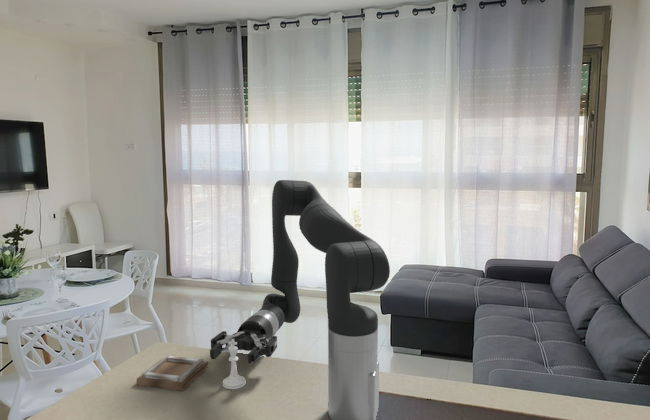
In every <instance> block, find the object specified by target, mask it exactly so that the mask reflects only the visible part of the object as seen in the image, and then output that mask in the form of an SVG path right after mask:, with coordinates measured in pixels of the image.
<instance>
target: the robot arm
mask: <svg viewBox="0 0 650 420" xmlns="http://www.w3.org/2000/svg"><path fill="white" fill-rule="evenodd" d="M271 195H272V196H271V215H272V217H271V218H272V219H271V220H272V225H271V226H272V245H273V246H272V248H273V249H272V250H273V251H272V252H273V254H272V266H271V267H272V268H271V278H270V283H271V286H272V288H274V289H275V290H277V291H278V292H280V293H282V294H280V293H268V294H267V295H265V297H264V299H263V302H262V305H261V308H260V309H259V310H258V311H257V312H255V313H253V314H252V315H250V316H249V317H248V318H247V319H246V320H245V321H244V322H242V323H241V324H240V326H239V328H238V330H237V332H235V333H232V334H228V333H227V332H228V331H221V332H220V333H218V334H216V335H215V336H214V337H212V338H211V339H210V349H209V358H210V360H212V361H213V360H216V359H217V358H218V357H219V356H221V354H222V353H225V352H226V353H227V352H228V353H230V352H229V350H228V349H229V347H231V346H232V344H229V342H230V341H231V342H232V339H234V342H237V345H235V346H236V347H238V351H247V352H249V351H250V352H249V353H248V355H247V363H248V364H251V365H252V364H253V363H255V362H256V361H258V360H259V358H262V357H263V356H265V357H266V358H270V357H272V355H273V354H274V352H275V351H276V350H277V348H278V336H276V333H277V332H278V331H279V329H281V327H283V325H284V323H287V324H292V323H294V322H296V321H297V320H298V319H299V317H300V315H301V314H300V313H301V301H300V298H299V292H298V291H299V290H298V284H297V283H298V272H299V263H300V261H299V256H298V252H297V250H296V248H295V246H294V243H293V242H292V240H291V238H290V237H289V234H288V232H287V231H288V230H287V228H286V216H293V217H294V216H296V217H299V222H298V225H299V226H298V227H299V229H300V232H301V234H302V235H303V237H304V238H305V239H306V241H307V242H308V243H309V245H311V247H312V248H314V249H316V250H318V251H320V252H321V253H323V254H324V253H325V257H324V259H325V261H324V273H325V274H324V275H325V289H326V291H325V292H326V293H325V294H326V310H327V311H326V312H327V329H328V330H327V332H328V334H327V336H328V337H327V344H328V345H327V349H328V350H327V355H328V356H327V362H328V363H327V365H328V366H327V374H328V375H327V377H328V379H327V383H328V384H327V386H328V387H327V393H328V394H327V395H328V397H327V398H328V399H327V401H328V402H327V407H328V408H327V409H328V417H329V419H331V420H377V417H378V413H379V409H378V408H379V403H380V402H379V401H380V399H379V397H380V395H379V393H380V386H379V385H380V363H379V361H378V345H379V343H378V342H379V341H378V339H379V338H378V336H379V335H378V334H379V328H378V327H379V318H378V314H377V312H376V311H375V310H374V309H372V308H370V307H368V306H365V305H361V304H358V303H354V302H352V301H351V294H353V293H354V294H355V293H364V292H373V291H375V290H379V289H381V288H382V287H384V286H385V285H386V284H387V282H388V281H389V279H390V273H391V270H390V269H391V268H390V262H389V260H388V259H389V258H388V256H387V254H386V253H385V250H384V249H383V248H382V246H381V245H380V244H379V243H378V242H377V241H376V240H374V239H372V238H370V237H369V236H368V235H366V234H364V233H362V232H361V231H360V230H358V229H356V228H355V227H354V226H353V225H352V224H351V223H349V222H348V221H347V220H346V219H345V218H344V217H343V216H342V215H341V214H340V213H339V212H338V211H337V210H336V209H335V208H334V207H332V206H331V205H330V204H329V203H328V202H327V201H326V200H325V199H324V198H323V196H322V195H321V193H320V192H319V191H318V189H317V188H316V186H315V185H314V184H312V183H311V182H310V181H306V180H293V179H292V180H290V179H280V180H277V181H276V182H275V183H274V186H273V189H272V194H271ZM223 346H225V347H223ZM377 412H378V413H377ZM376 416H377V417H376Z"/></svg>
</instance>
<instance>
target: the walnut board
mask: <svg viewBox="0 0 650 420" xmlns="http://www.w3.org/2000/svg"><path fill="white" fill-rule="evenodd" d="M208 368H209V361H206V360H204V359H201V358H192V357H186V356H185V357H184V356H175V355H164V356H163V357H162V358H161V359H159V360H158V361H156V362H155V363H154V364H152V365H151V366H150V367H148V368H147V369H146V370H145V371H143V372H142V373H141V375H139V376H137V378H136V386H140V387H141V386H142V387H147V388H149V387H150V388H157V389H165V390H171V391H180V392H184V391H185V390H186V389H187V388H188V387H190V385H191V384H193V383H194V381H196V380H197V379H198V378H199V377H200V376H201V375H203V373H205V371H206V370H208Z"/></svg>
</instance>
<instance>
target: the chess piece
mask: <svg viewBox="0 0 650 420" xmlns="http://www.w3.org/2000/svg"><path fill="white" fill-rule="evenodd" d="M229 344H231V347H229V349H228V350H229V352H228V353H229V354H230V356H229V357H228V362H231V363H230V373H229V375H228V376H227V377H225V378H223V381H222V387H223V388H225V389H227V390H237V389H241V388H243V387H245V386H246V383H247V382H246V378H245V377H244V376H242V375H240V374H239V373H238V368H237V361H239V359H240V358H239V357H238V356H237V353H238V351H239V350H238V347H236V346H235V345H237V342H234V339H232V342H231V341H230V342H229Z"/></svg>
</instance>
